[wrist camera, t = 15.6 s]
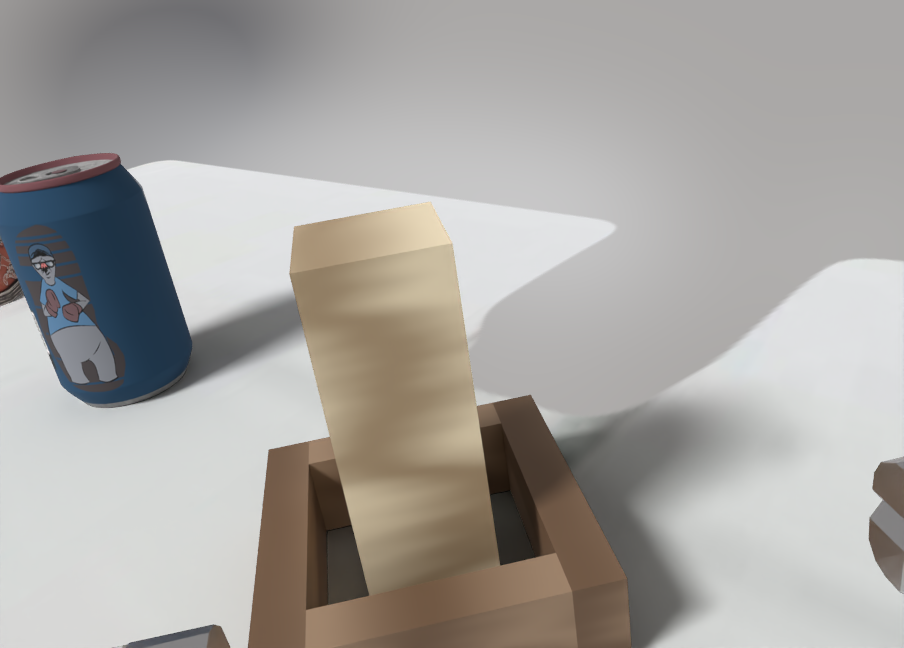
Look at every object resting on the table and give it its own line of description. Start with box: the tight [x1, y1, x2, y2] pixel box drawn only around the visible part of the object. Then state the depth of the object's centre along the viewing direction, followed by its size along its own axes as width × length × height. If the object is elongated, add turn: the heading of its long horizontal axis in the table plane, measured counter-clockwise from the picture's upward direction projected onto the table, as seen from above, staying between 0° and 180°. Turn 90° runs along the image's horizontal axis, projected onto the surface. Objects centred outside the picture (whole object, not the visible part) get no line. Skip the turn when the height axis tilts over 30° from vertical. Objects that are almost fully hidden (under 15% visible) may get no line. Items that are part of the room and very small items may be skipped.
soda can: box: [0, 153, 192, 408], centre depth 40 cm, size 7×7×12 cm
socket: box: [248, 395, 631, 648], centre depth 25 cm, size 10×10×3 cm
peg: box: [290, 202, 500, 596], centre depth 23 cm, size 4×4×12 cm
